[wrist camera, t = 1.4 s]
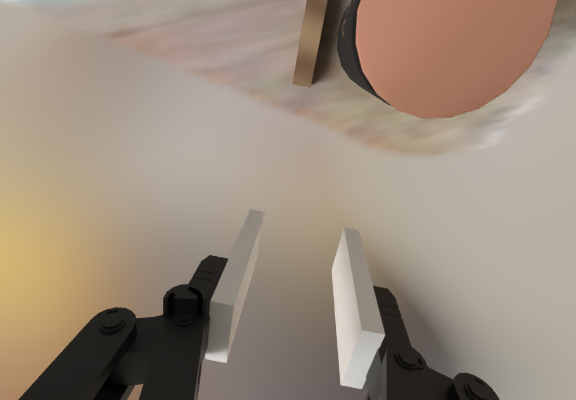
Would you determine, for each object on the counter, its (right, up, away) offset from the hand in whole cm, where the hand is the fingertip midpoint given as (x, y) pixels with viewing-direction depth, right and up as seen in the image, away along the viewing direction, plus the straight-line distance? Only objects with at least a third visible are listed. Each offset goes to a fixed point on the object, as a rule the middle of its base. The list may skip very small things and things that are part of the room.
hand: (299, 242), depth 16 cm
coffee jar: (+10, +20, +18) cm, 28 cm away
